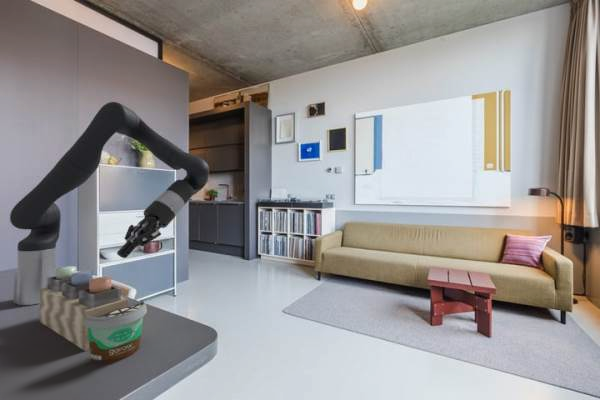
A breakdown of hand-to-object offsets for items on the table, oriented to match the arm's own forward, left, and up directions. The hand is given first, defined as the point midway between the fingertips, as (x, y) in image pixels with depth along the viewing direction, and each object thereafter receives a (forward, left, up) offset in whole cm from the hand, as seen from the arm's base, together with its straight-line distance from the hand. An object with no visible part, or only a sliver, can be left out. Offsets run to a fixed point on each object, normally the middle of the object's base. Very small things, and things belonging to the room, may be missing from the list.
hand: (120, 255), depth 71 cm
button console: (-11, +1, -19) cm, 22 cm away
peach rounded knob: (-2, -4, -8) cm, 9 cm away
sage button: (-20, +6, -8) cm, 22 cm away
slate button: (-11, +1, -8) cm, 14 cm away
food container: (+8, -11, -20) cm, 24 cm away
